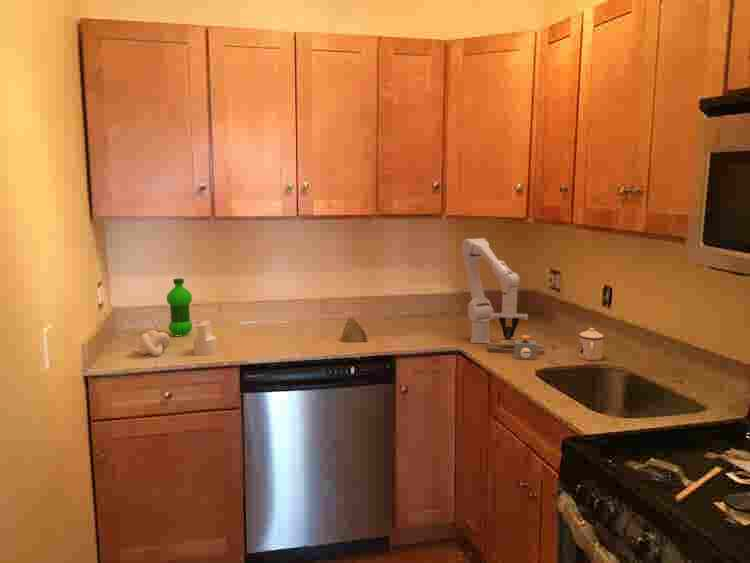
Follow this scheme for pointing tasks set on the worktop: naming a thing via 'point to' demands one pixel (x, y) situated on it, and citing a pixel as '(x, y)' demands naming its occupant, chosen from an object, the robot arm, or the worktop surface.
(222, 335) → the worktop surface
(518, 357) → the gauge box
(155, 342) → the beige knot
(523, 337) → the button
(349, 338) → the rock
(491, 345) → the guide rail
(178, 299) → the plastic bottle
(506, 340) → the carriage
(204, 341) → the cylinder with rectangular tab
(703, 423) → the worktop surface
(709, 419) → the worktop surface
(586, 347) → the teacup with lid
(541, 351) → the board
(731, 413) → the worktop surface
